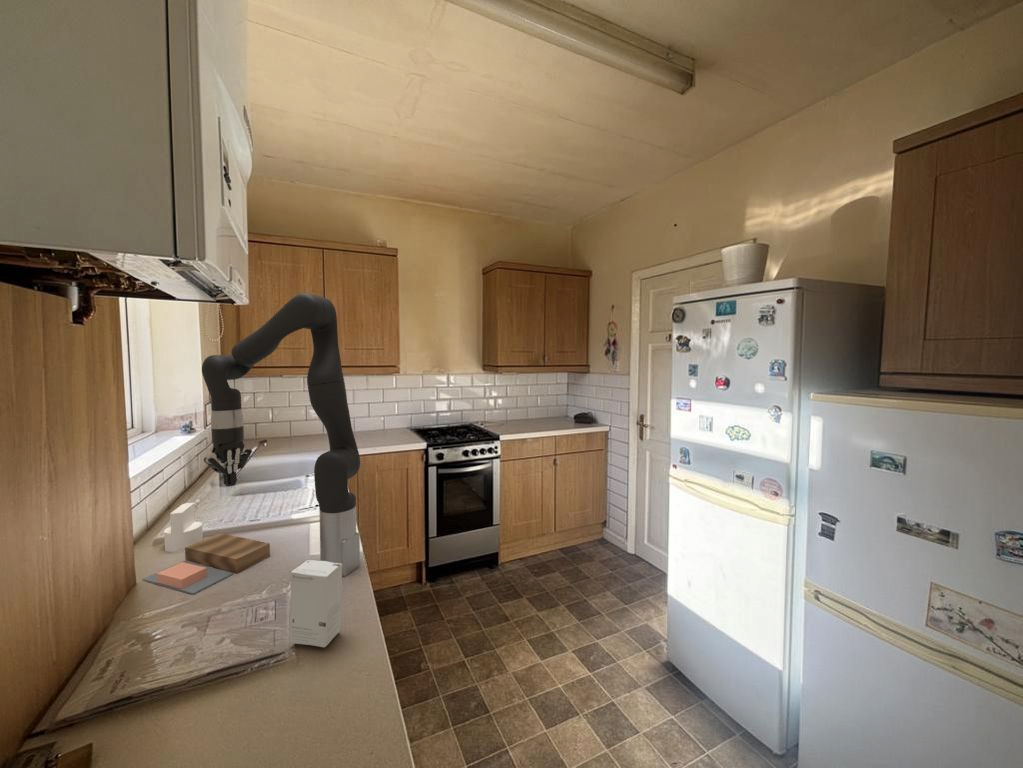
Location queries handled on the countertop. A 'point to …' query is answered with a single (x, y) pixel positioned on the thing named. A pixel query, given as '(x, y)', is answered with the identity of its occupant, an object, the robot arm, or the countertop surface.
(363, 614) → the countertop surface
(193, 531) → the base with upright slab
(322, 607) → the skincare box
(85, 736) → the countertop surface
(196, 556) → the deck
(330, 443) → the robot arm
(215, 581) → the mat
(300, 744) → the countertop surface
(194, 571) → the salmon pink flat block
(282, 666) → the countertop surface
